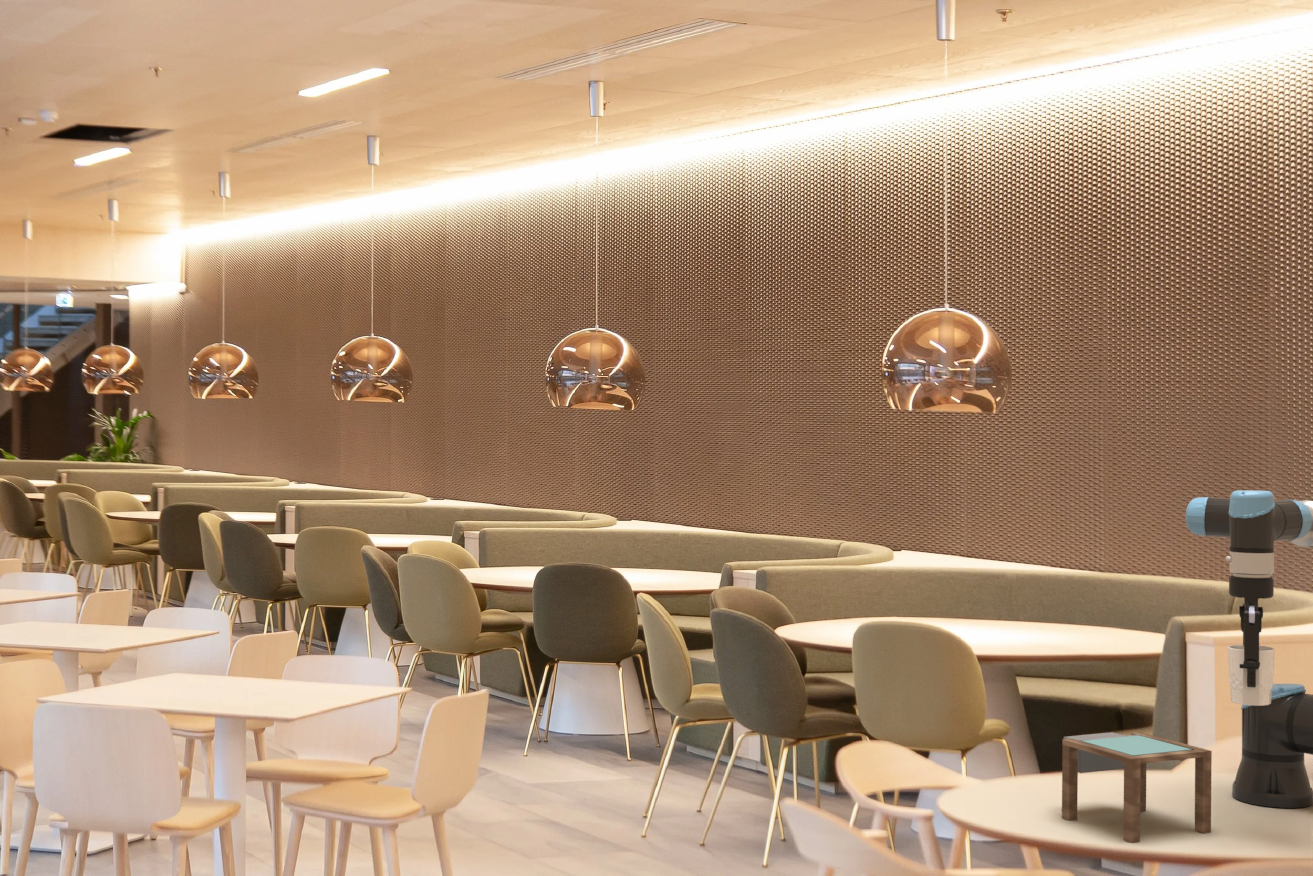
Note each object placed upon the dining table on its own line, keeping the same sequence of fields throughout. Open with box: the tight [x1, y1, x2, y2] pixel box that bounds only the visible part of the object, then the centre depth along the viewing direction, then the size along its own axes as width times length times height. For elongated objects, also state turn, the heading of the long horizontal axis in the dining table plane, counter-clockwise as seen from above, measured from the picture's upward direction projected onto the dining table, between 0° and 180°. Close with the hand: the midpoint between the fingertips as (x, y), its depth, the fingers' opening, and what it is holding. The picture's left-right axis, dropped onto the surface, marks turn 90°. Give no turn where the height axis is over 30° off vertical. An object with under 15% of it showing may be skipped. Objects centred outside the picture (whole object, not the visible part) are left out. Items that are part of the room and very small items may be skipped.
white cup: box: [1227, 644, 1275, 706], centre depth 267 cm, size 8×8×10 cm
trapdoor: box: [1063, 731, 1192, 774], centre depth 278 cm, size 14×20×7 cm
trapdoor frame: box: [1061, 731, 1213, 844], centre depth 275 cm, size 19×19×15 cm
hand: (1250, 701), depth 267 cm, fingers closed on white cup, 7 cm apart
